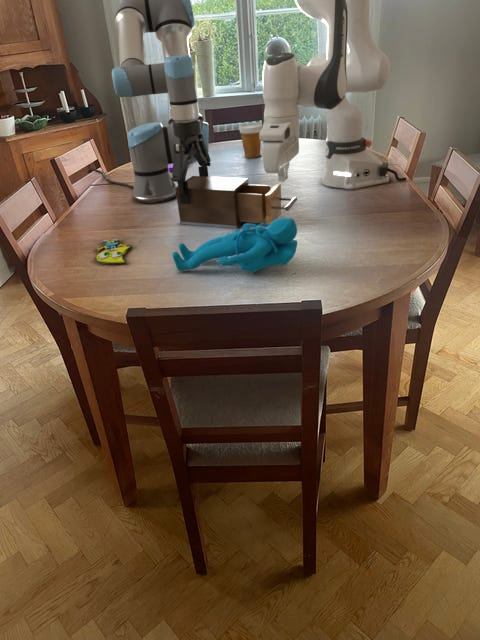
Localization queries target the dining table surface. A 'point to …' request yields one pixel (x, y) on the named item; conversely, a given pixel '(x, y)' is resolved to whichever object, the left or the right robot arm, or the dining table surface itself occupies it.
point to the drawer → (260, 203)
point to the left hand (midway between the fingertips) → (195, 195)
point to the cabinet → (211, 201)
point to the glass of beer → (251, 139)
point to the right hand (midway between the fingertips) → (283, 180)
